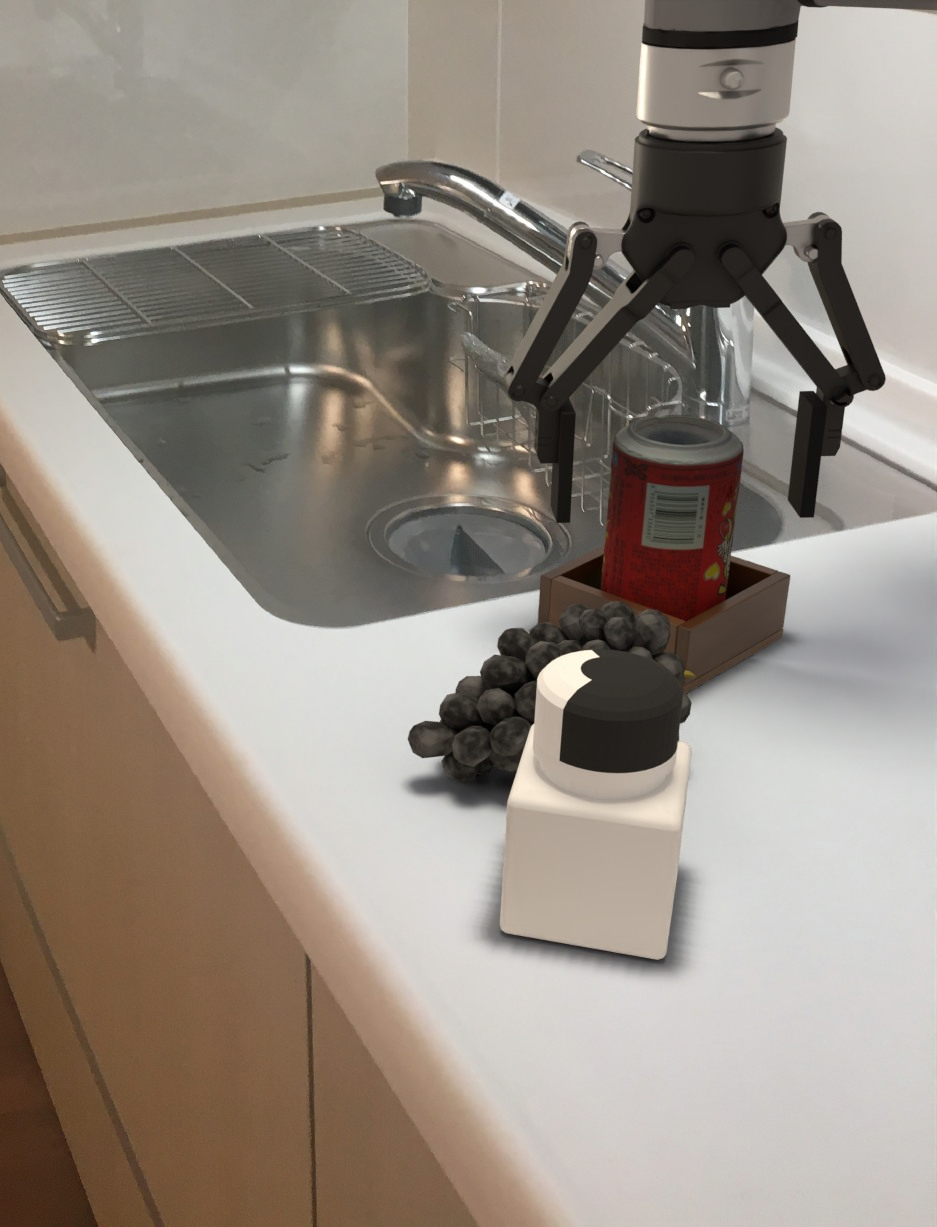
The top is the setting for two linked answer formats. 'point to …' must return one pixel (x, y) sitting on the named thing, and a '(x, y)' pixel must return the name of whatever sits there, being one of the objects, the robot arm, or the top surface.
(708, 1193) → the top surface
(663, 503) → the soda can
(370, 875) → the top surface
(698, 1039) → the top surface
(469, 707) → the fruit
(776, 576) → the wooden box tray
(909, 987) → the top surface
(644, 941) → the medicine bottle
